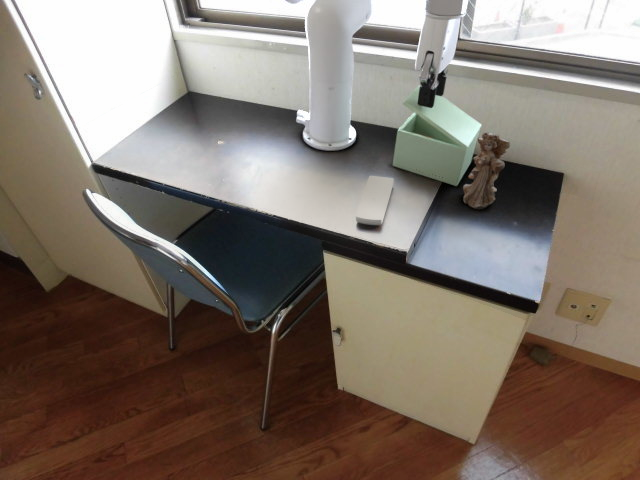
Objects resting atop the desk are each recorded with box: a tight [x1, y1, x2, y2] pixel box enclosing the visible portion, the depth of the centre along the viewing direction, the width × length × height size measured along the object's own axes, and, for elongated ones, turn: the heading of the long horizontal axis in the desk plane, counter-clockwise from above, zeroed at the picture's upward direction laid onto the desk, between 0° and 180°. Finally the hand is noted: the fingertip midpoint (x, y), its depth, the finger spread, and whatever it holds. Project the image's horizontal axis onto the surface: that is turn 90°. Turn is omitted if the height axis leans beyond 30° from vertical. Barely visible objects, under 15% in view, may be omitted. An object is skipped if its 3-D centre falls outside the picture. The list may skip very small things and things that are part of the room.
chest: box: [392, 112, 481, 187], centre depth 102 cm, size 15×10×9 cm
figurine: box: [462, 131, 511, 210], centre depth 91 cm, size 7×6×15 cm
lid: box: [402, 80, 482, 149], centre depth 95 cm, size 15×10×4 cm, turn 60°
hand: (430, 99), depth 96 cm, fingers closed on lid, 5 cm apart
